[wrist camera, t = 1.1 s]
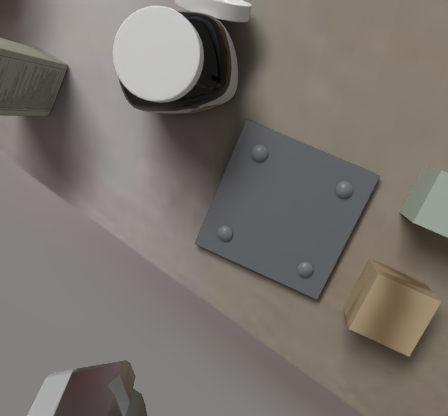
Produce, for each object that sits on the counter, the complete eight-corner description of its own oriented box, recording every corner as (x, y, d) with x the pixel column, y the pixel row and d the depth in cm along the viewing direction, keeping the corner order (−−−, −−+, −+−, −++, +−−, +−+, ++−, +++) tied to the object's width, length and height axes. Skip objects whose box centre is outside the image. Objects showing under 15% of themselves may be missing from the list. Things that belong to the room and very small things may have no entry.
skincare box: (35, 46, 45) (-58, 16, 33) (71, 66, 44) (-11, 42, 33) (15, 101, 46) (-81, 90, 34) (49, 120, 46) (-36, 116, 34)
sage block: (473, 186, 40) (498, 194, 35) (447, 232, 41) (467, 246, 36) (423, 165, 40) (441, 170, 36) (399, 211, 42) (412, 222, 37)
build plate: (378, 174, 41) (380, 176, 40) (316, 295, 44) (317, 300, 43) (247, 119, 42) (245, 119, 41) (196, 241, 45) (194, 244, 44)
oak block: (424, 282, 42) (441, 302, 38) (396, 331, 44) (409, 356, 39) (368, 258, 43) (378, 274, 38) (342, 307, 44) (348, 329, 39)
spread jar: (152, 120, 44) (102, 117, 33) (133, 7, 42) (74, -38, 31) (266, 102, 42) (255, 91, 30) (250, -19, 40) (233, -77, 29)
